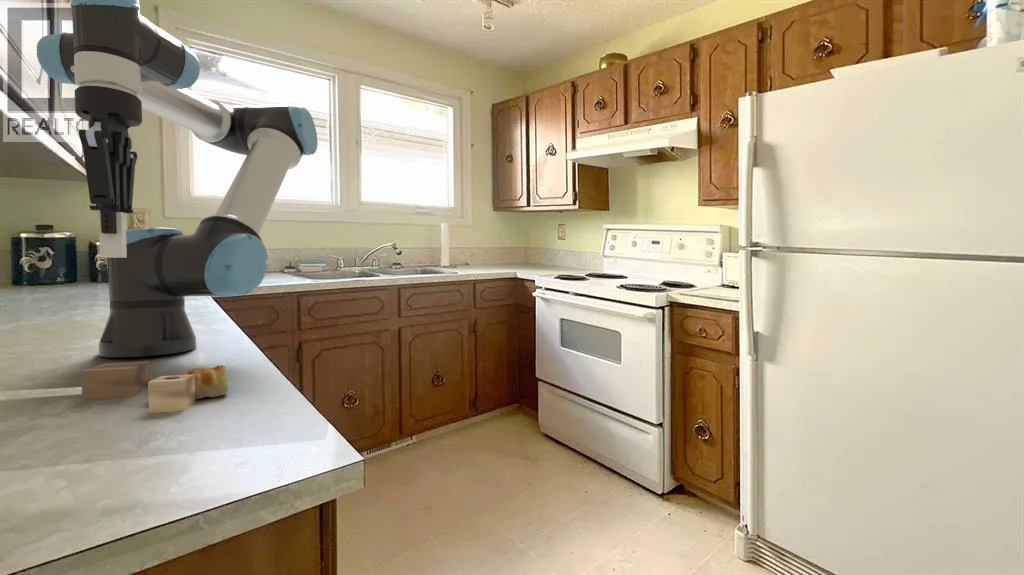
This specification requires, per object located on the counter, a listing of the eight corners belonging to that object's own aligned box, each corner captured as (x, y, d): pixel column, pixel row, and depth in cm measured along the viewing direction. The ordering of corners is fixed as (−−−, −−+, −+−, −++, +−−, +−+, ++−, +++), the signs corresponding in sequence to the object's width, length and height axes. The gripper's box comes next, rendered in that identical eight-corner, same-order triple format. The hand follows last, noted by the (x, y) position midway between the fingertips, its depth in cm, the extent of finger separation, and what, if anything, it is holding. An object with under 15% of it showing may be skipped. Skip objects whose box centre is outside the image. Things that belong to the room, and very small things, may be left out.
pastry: (149, 406, 65) (147, 378, 65) (151, 395, 71) (149, 368, 71) (231, 394, 71) (230, 368, 70) (226, 385, 76) (225, 360, 76)
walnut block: (103, 393, 75) (102, 363, 75) (150, 390, 76) (149, 361, 76) (82, 403, 69) (81, 371, 69) (133, 399, 71) (132, 368, 71)
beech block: (161, 406, 67) (160, 375, 67) (195, 403, 68) (194, 373, 68) (148, 413, 63) (148, 381, 63) (185, 411, 64) (184, 379, 64)
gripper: (98, 105, 77) (102, 259, 77) (51, 71, 64) (56, 255, 65) (155, 110, 79) (159, 259, 80) (121, 78, 67) (126, 255, 67)
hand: (113, 257), depth 72 cm, fingers closed
